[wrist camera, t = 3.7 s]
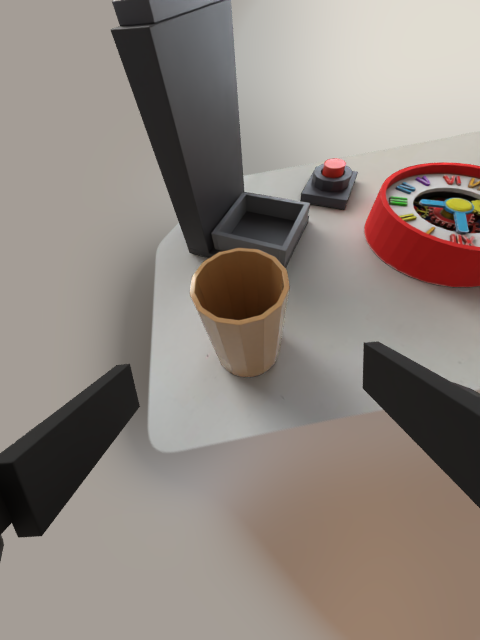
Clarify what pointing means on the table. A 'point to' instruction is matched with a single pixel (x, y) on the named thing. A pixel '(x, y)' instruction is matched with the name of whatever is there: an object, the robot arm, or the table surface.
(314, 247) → the table surface
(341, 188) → the switch block
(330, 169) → the button
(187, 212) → the coffee maker
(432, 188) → the toy clock
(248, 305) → the cup
